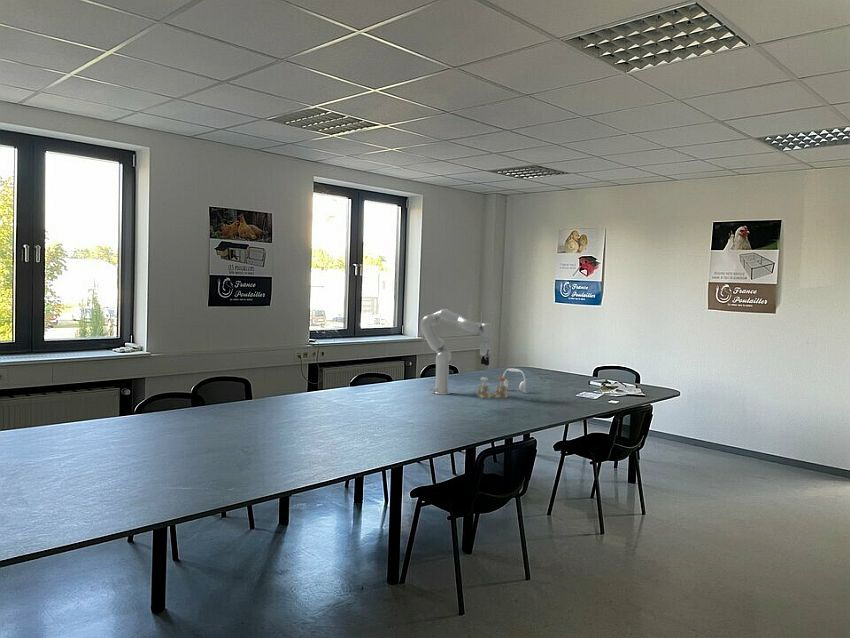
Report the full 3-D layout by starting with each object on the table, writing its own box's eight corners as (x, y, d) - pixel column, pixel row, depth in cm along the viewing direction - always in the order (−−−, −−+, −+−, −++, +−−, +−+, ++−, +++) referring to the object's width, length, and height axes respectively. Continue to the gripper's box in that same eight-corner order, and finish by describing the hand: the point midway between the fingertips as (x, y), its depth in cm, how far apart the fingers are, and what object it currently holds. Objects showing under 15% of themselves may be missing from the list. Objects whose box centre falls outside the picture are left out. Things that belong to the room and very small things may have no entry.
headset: (499, 390, 496) (500, 367, 495) (504, 389, 502) (505, 367, 501) (522, 393, 484) (523, 370, 483) (527, 392, 490) (528, 369, 489)
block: (482, 398, 459) (482, 387, 458) (477, 395, 468) (477, 385, 468) (507, 397, 464) (508, 387, 464) (502, 395, 474) (502, 385, 473)
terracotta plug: (499, 388, 465) (500, 378, 464) (496, 387, 470) (497, 377, 469) (506, 388, 466) (506, 378, 466) (503, 387, 471) (503, 377, 471)
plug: (481, 389, 461) (482, 378, 460) (479, 388, 466) (479, 377, 465) (488, 389, 462) (488, 378, 462) (485, 387, 467) (486, 377, 467)
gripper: (476, 339, 469) (475, 363, 470) (485, 341, 453) (484, 366, 454) (486, 339, 471) (485, 363, 472) (495, 341, 455) (494, 366, 456)
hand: (484, 364), depth 463 cm, fingers open, 6 cm apart
